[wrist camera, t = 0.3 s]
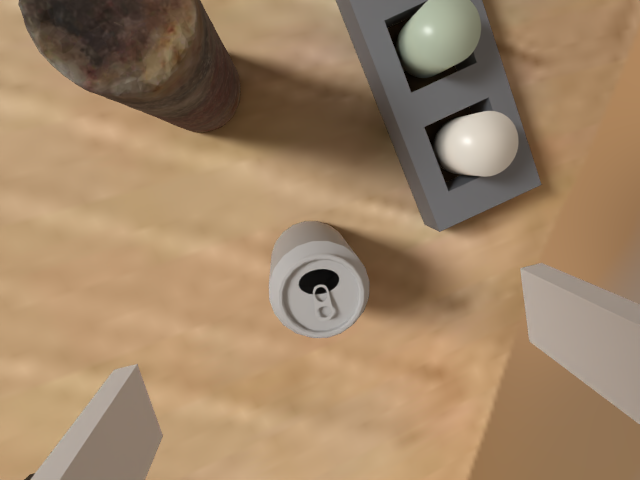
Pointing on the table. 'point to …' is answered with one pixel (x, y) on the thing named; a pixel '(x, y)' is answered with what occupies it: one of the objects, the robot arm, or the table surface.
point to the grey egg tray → (437, 112)
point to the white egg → (476, 144)
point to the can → (316, 281)
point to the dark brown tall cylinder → (140, 56)
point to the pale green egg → (438, 37)
